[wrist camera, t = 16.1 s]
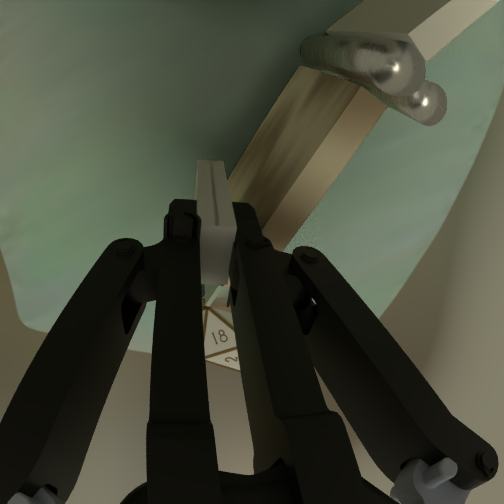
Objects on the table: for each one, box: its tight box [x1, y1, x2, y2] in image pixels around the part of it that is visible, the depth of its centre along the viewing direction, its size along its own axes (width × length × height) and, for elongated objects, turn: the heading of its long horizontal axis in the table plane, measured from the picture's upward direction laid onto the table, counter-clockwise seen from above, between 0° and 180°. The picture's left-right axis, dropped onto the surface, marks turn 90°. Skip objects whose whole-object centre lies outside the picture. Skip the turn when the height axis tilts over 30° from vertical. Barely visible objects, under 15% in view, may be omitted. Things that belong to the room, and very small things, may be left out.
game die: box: [202, 294, 241, 372], centre depth 27 cm, size 9×8×10 cm
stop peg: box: [349, 79, 447, 126], centre depth 16 cm, size 2×2×8 cm
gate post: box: [300, 36, 425, 97], centre depth 14 cm, size 2×2×10 cm
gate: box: [205, 65, 387, 313], centre depth 17 cm, size 13×2×9 cm, turn 149°
